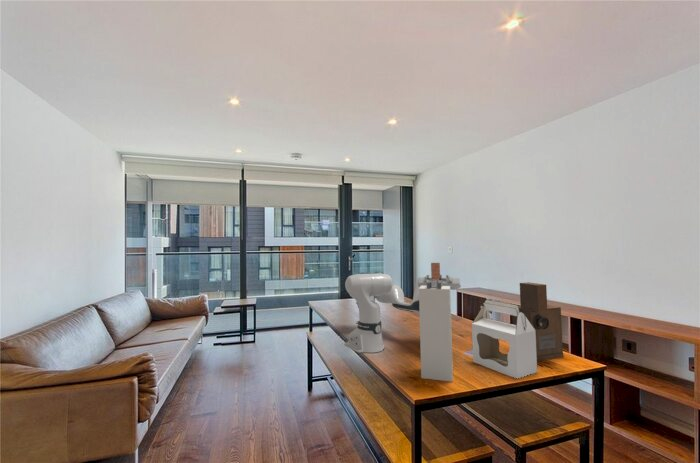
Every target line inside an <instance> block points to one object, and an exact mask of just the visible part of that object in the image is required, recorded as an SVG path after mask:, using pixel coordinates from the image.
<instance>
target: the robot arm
mask: <svg viewBox="0 0 700 463" xmlns="http://www.w3.org/2000/svg"><path fill="white" fill-rule="evenodd" d="M429 280H433V279H431V276H430V275H429V274H426V275H425V276H419V277H417V282H416V283H415V286H414V293H413V297H412V301H411V302H406V301H405V293H404V290H403V289H402V287H400V286H399V285H398V284H394V283H393V282H394V281H393V279H392V277H391V276H390V275H389V274H388V273H382V272H380V273H379V272H377V273H374V272H373V273H355V274H351V275H349V276H348V277H347V278H346V280H345V282H344V283H345V284H344V287H345V290H346V292H347V293H348V295H349V296H350V297H351V298H352V299H354V300H355V304H356V305H357V308H358V315H359V316H358V318H359V320H358V321H356V322H355V324H356V325H357V326H356V328H355V329H353V330H352V331H351V332H350V333H349V335H348V341H345V342H344V343H343V346H344V347H347V348H348V349H350V350H352V351H354V352H355V353H360V354H362V353H368V354H369V353H370V354H371V353H378V352H382V351H384V350H385V346H384V342H383V334H382V321H381V306H380V305H379V304H378V303H381V304H391V306H392V307H394V308H395V309H398V310H401V311H405V312H410V313H415V314H418V315H420V311H419V288H420V287H421V285H424V286H427V282H428V281H429ZM460 282H461V281H460V278H459V277H451V276H450V275H449V274H448V275H447V274H446V276H445V277H442V286H450V291H456V290H459V289H460V288H461V283H460ZM375 301H377V302H378V303H377V302H375ZM383 349H384V350H383Z"/></svg>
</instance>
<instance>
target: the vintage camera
mask: <svg viewBox="0 0 700 463" xmlns="http://www.w3.org/2000/svg"><path fill="white" fill-rule="evenodd" d="M547 292H548V291H547V284H543V283H537V282H529V281H528V282H520V283H519V299H520V303H519V304H520V305H518V306H519V310H520V312H522V313H523V314H525V316H526V318H527V319H528V321H529V322H530V323H531V325H532V326H533V328H534V329H535V333H536V356H537V363H538V362H542V361H549V360H554V359H555V360H556V359H562V358H564V357H565V356H564V349H563V344H564V343H563V328H562V326H563V325H562V307H561V306H557V305H552V304H548V298H547V297H548V293H547ZM512 324H514V325H516V324H517V316H514V315H512Z"/></svg>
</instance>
